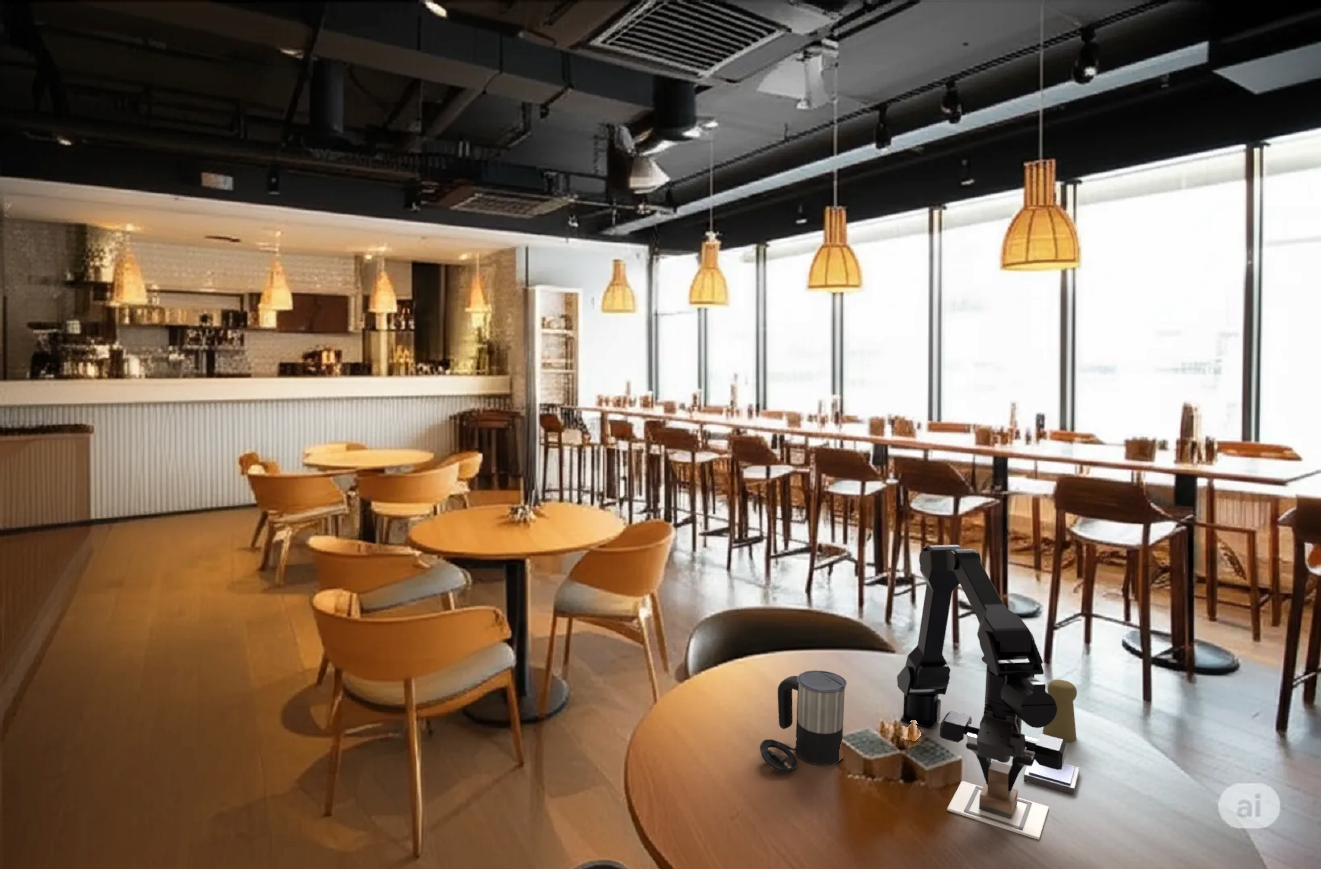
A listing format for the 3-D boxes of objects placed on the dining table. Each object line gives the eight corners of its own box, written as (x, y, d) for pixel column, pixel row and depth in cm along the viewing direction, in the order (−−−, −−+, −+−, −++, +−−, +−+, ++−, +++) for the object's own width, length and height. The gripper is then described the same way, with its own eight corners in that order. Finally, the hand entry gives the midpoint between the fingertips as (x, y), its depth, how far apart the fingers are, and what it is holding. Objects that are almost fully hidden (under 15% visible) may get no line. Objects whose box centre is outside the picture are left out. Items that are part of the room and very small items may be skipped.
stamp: (979, 808, 130) (980, 769, 129) (985, 794, 134) (987, 756, 133) (1011, 818, 127) (1013, 778, 126) (1017, 804, 131) (1019, 764, 130)
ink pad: (1023, 780, 139) (1024, 772, 139) (1031, 760, 146) (1031, 753, 146) (1073, 794, 135) (1074, 786, 135) (1079, 773, 142) (1079, 766, 141)
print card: (947, 810, 130) (947, 807, 130) (961, 782, 139) (961, 779, 139) (1039, 839, 123) (1039, 836, 123) (1048, 808, 131) (1048, 805, 131)
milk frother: (849, 748, 151) (851, 674, 149) (830, 789, 137) (832, 709, 135) (778, 732, 157) (779, 661, 155) (753, 770, 143) (754, 693, 141)
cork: (1080, 743, 152) (1084, 690, 151) (1047, 740, 153) (1050, 687, 152) (1070, 728, 158) (1074, 677, 157) (1039, 726, 159) (1041, 674, 158)
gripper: (932, 702, 127) (929, 791, 129) (1059, 733, 117) (1053, 831, 118) (950, 678, 136) (946, 762, 138) (1069, 705, 126) (1063, 796, 128)
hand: (999, 786), depth 130 cm, fingers closed on stamp, 3 cm apart
